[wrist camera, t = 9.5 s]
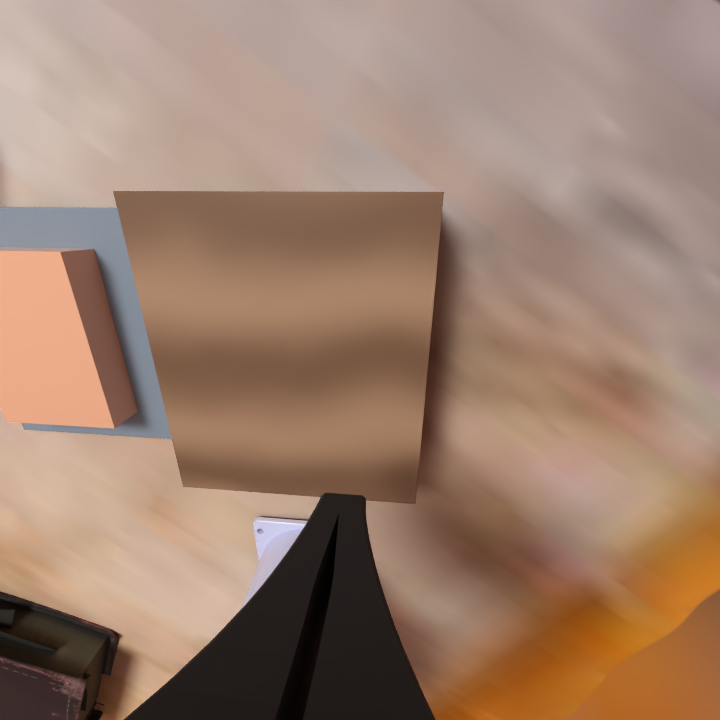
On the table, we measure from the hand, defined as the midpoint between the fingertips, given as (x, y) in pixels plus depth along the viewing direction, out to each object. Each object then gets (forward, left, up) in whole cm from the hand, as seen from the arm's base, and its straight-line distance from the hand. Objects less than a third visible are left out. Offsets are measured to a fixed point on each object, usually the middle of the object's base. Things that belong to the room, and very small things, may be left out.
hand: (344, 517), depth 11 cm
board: (+2, +4, -10) cm, 11 cm away
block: (+2, +18, -8) cm, 20 cm away
